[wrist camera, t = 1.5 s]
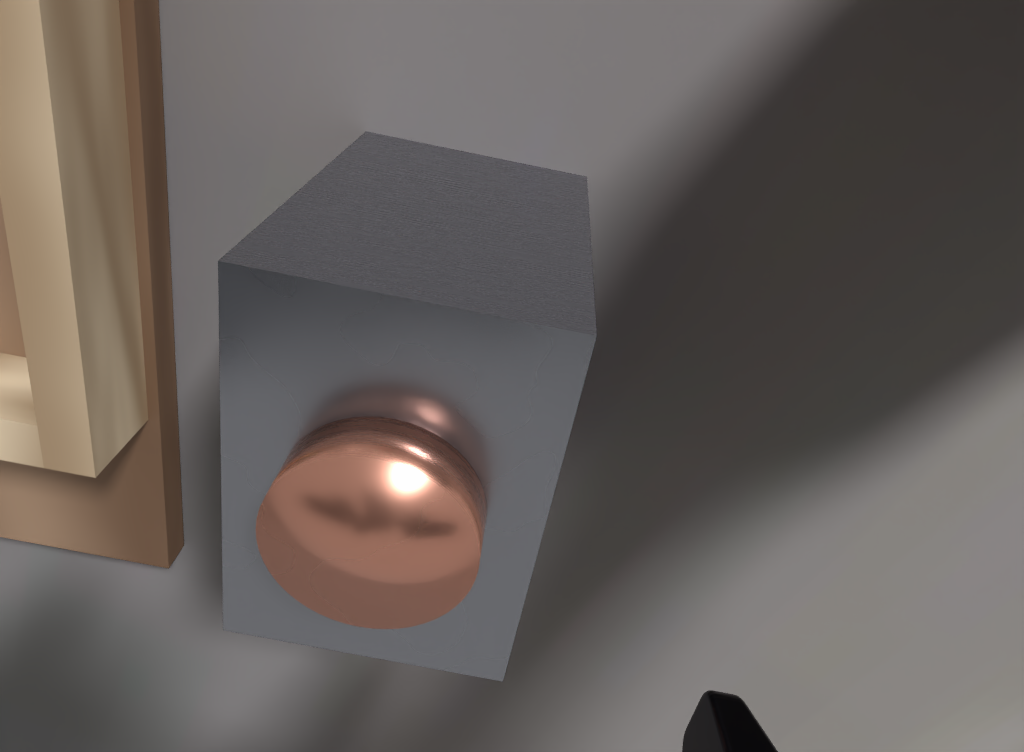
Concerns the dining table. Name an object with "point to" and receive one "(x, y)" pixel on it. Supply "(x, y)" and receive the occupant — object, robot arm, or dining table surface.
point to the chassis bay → (86, 283)
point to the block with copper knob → (400, 401)
